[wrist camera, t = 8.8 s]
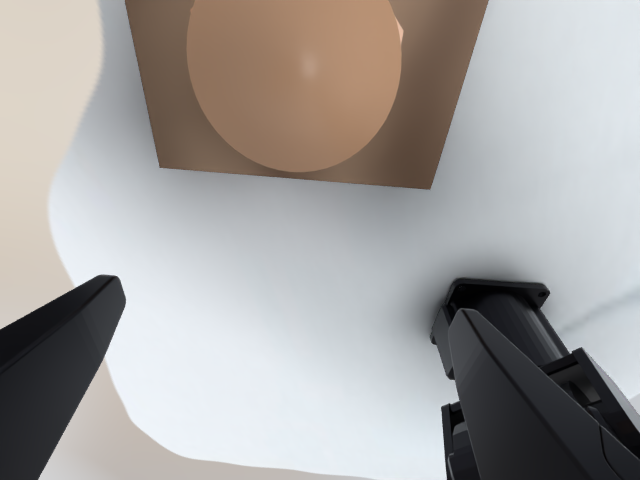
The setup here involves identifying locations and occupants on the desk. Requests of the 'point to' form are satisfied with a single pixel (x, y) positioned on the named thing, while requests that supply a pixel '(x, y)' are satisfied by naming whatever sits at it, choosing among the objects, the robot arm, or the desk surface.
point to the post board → (373, 159)
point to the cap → (295, 76)
